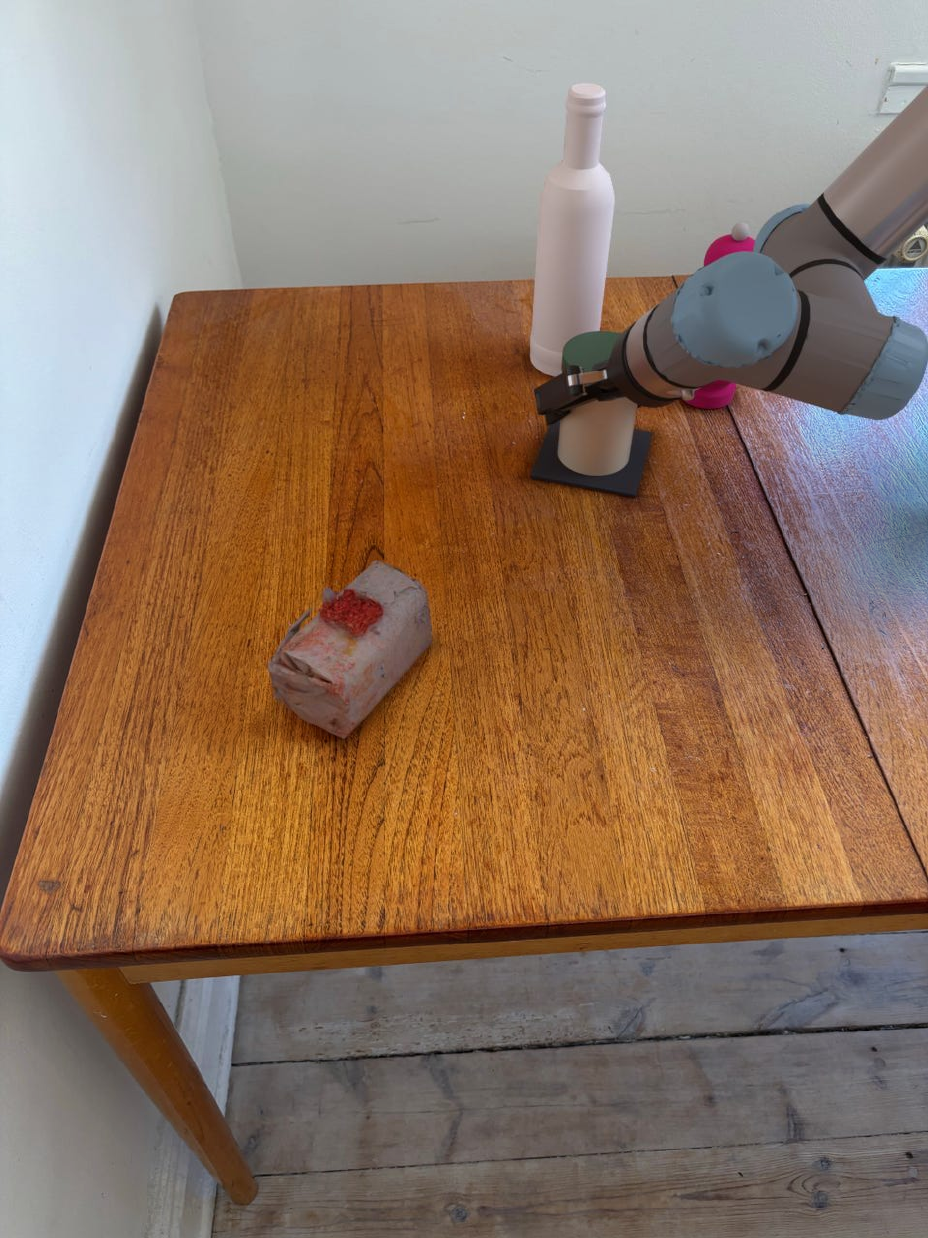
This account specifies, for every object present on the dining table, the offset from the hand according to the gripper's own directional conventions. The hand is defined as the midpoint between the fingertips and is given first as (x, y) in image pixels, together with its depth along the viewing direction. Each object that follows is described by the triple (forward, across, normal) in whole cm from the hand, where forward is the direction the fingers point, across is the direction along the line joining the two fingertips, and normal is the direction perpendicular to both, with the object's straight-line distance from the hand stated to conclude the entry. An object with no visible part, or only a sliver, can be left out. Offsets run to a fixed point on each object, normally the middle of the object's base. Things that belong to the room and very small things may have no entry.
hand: (586, 406), depth 106 cm
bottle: (+13, +2, +8) cm, 16 cm away
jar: (0, 0, -5) cm, 5 cm away
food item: (-17, -29, -23) cm, 41 cm away
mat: (0, 0, -5) cm, 5 cm away
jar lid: (-8, 0, +3) cm, 9 cm away
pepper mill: (+6, +16, 0) cm, 17 cm away
